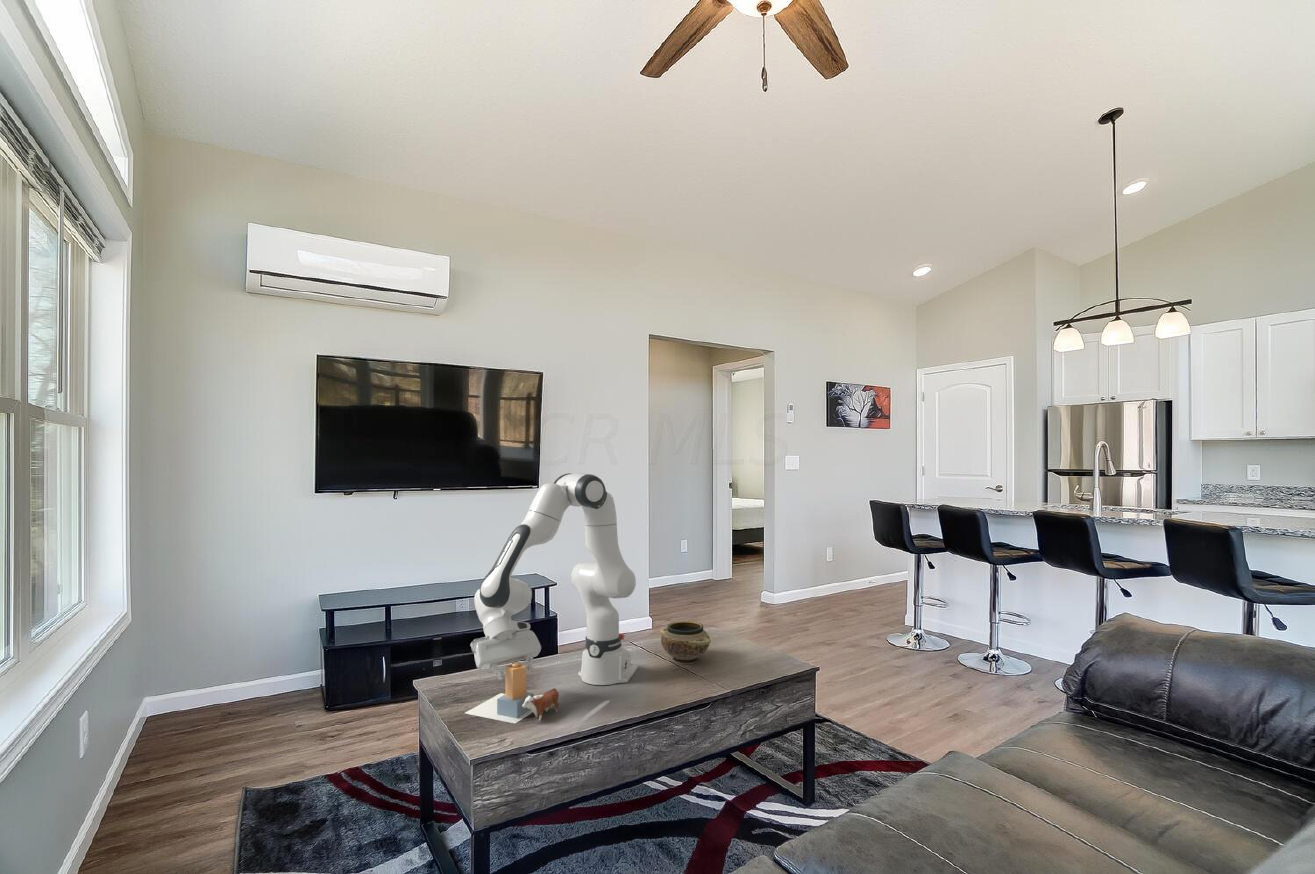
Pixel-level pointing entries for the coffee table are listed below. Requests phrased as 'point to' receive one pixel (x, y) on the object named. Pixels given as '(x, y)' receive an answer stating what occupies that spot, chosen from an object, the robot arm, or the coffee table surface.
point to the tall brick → (515, 681)
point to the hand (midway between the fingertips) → (516, 674)
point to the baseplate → (493, 711)
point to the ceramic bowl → (685, 641)
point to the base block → (512, 706)
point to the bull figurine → (542, 702)
